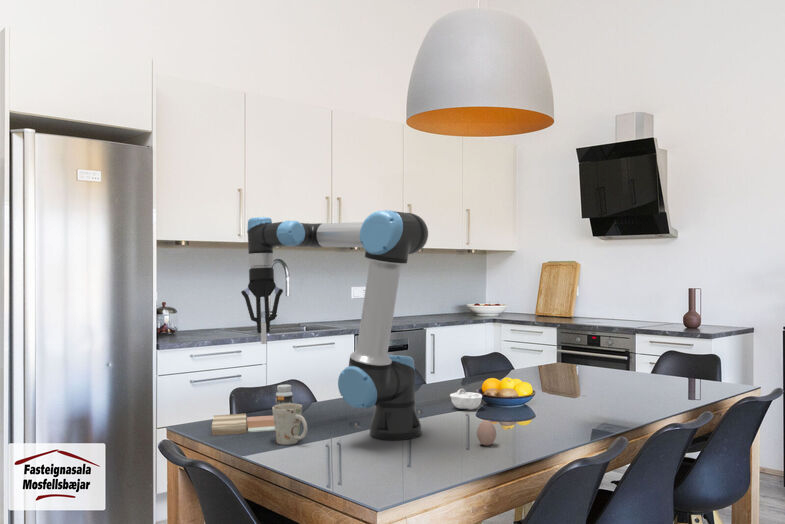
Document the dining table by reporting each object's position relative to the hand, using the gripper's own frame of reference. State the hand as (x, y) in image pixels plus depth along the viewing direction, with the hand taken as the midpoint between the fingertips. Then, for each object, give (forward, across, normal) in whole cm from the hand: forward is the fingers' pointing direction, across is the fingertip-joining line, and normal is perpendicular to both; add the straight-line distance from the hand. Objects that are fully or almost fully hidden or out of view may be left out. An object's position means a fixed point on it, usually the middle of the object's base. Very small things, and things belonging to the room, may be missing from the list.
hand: (263, 343), depth 206 cm
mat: (+26, 0, -3) cm, 26 cm away
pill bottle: (+26, -7, -14) cm, 30 cm away
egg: (+28, -56, +40) cm, 74 cm away
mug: (+27, -6, +22) cm, 35 cm away
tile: (+25, +1, -2) cm, 25 cm away
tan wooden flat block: (+26, +11, -2) cm, 28 cm away
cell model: (+27, -67, -5) cm, 73 cm away
